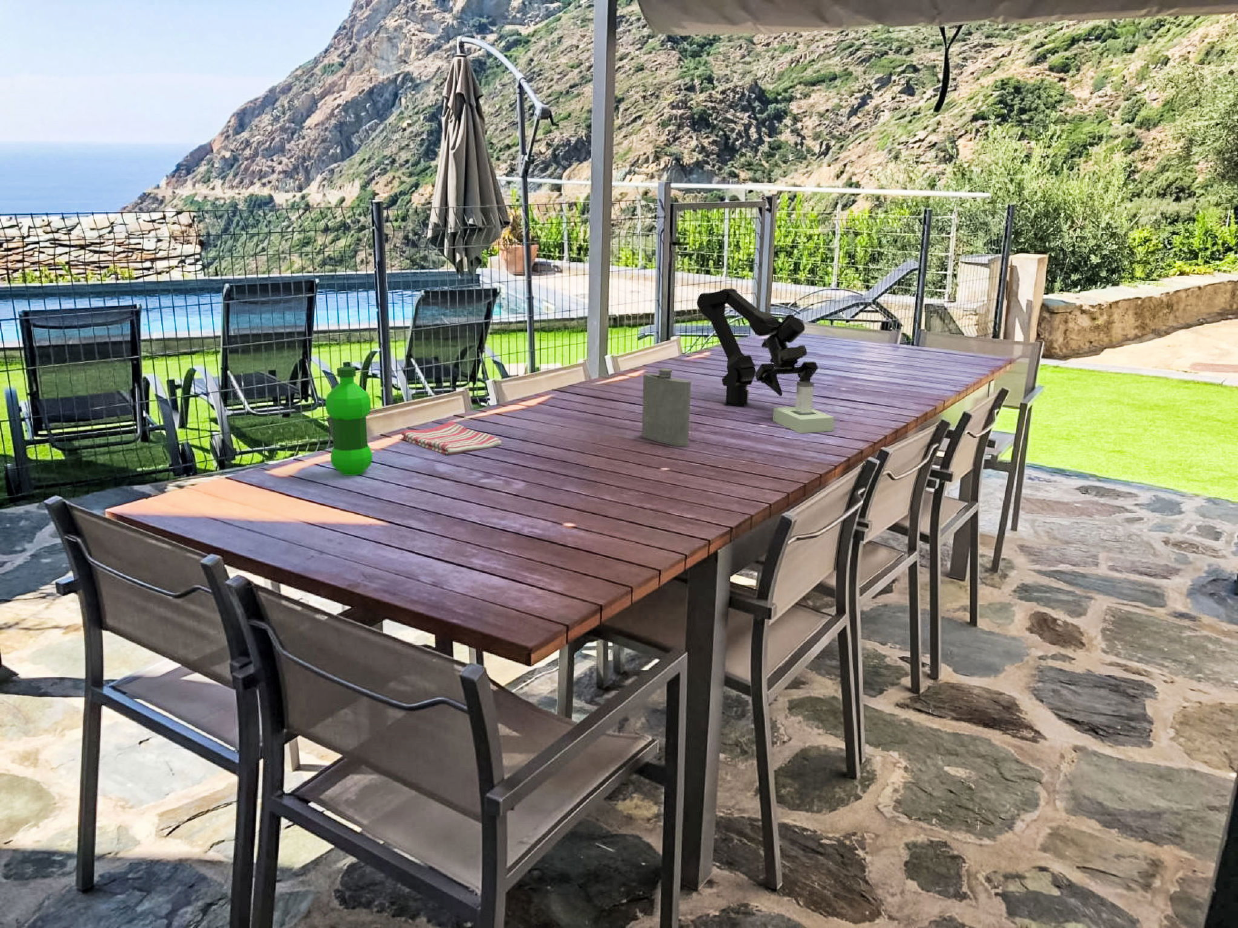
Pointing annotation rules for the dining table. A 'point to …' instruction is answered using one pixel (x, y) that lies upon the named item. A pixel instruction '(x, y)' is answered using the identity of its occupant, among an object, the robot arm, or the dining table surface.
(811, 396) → the pale grey square post
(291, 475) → the dining table surface
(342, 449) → the plastic bottle
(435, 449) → the dish towel
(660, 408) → the hip flask
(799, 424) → the post foot
